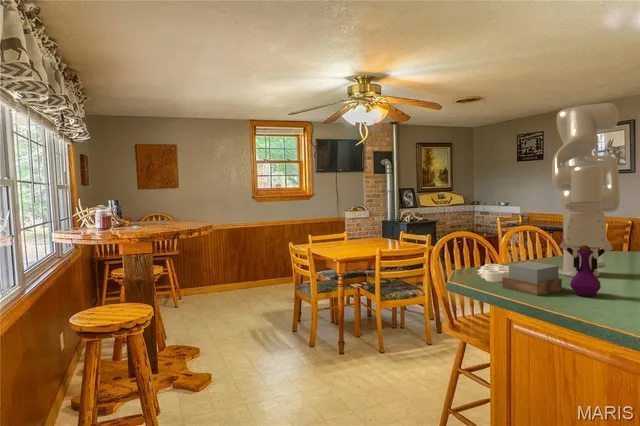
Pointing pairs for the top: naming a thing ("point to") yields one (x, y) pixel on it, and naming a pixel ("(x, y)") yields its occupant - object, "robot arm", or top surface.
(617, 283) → the top surface
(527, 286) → the tower bottom
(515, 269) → the tower top
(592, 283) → the perfume bottle
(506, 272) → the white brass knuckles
